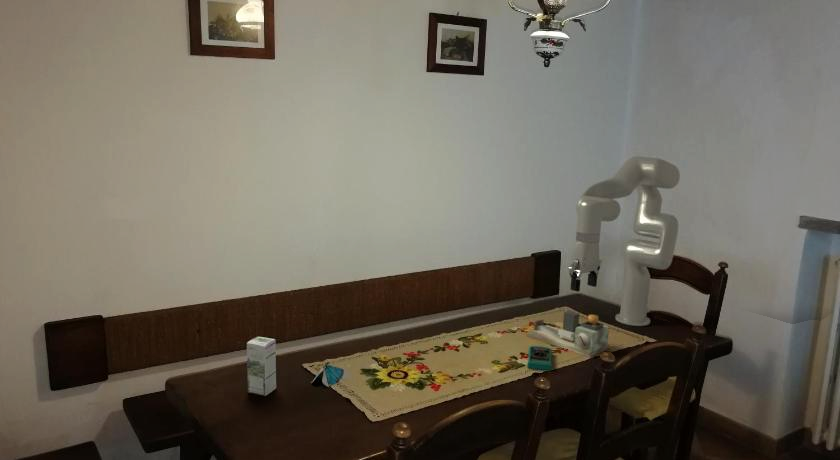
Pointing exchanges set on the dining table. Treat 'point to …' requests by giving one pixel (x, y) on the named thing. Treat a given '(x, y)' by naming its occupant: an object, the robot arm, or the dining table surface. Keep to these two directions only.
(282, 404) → the dining table surface
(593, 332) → the rail bed
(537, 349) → the digital multimeter
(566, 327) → the carriage
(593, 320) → the button
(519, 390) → the dining table surface
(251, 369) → the syrup box
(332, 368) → the decorative butterfly
